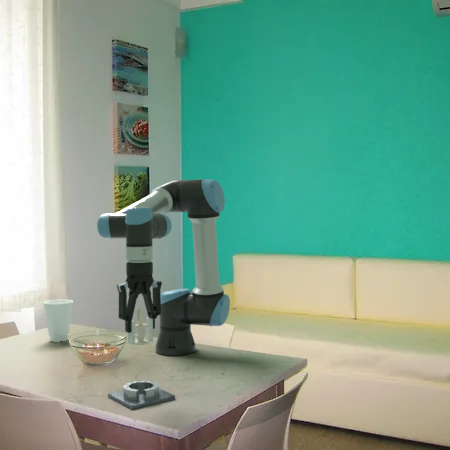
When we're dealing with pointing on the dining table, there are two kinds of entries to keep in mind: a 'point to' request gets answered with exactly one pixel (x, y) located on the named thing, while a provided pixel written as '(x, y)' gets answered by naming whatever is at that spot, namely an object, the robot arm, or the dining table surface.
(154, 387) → the ring stand
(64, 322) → the cup
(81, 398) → the dining table surface
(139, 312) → the candle
